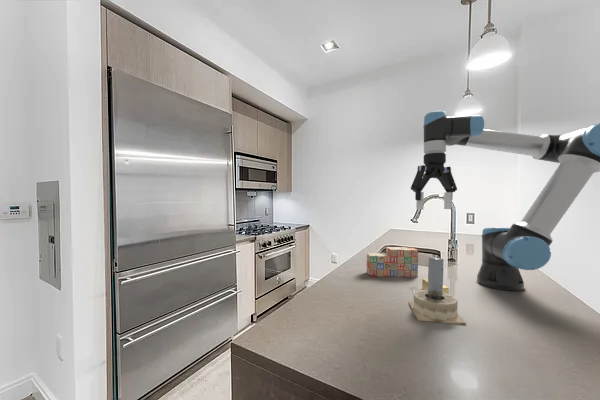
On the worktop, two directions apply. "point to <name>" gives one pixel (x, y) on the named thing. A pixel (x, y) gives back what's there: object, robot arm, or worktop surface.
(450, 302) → the socket block
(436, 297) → the cylinder
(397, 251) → the stack of blocks
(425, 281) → the square bit
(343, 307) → the worktop surface
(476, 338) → the worktop surface
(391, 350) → the worktop surface
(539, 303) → the worktop surface
